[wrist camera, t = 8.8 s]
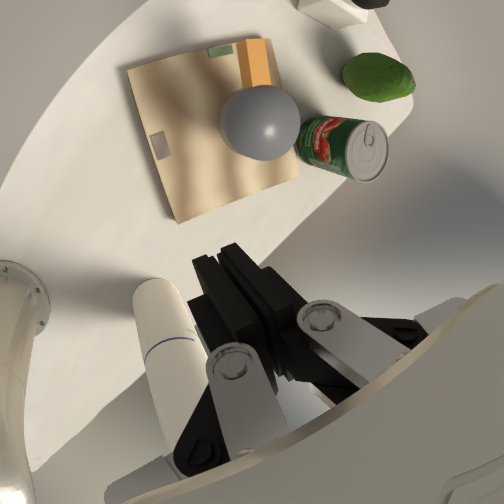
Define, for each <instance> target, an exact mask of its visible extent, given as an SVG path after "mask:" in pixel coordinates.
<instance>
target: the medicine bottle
mask: <svg viewBox="0 0 504 504" xmlns="http://www.w3.org/2000/svg"><path fill="white" fill-rule="evenodd" d="M389 1H390V0H299V3H298V6H297V10H299V11H301V12H303V13H305V14H307V15H308V16H310V17H312V18H314V19H316V20H318V21H320V22H321V23H323V24H325V25H327V26H329V27H330V28H332V29H338V28H342V27H347V26H352V25H357V24H363V23H366V19H367V14H368V10H369V9H374V8H380V7H385V6H386V5H388V3H389Z"/></svg>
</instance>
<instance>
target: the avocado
mask: <svg viewBox="0 0 504 504" xmlns="http://www.w3.org/2000/svg"><path fill="white" fill-rule="evenodd" d="M342 78H343V80H344V83H345V85H346V86H347V87H348V88H349V90H350V91H351V92H352V93H353V94H354V95H356V96H357V97H359V98H361V99H364V100H367V101H371V102H379V103H381V102H386V101H390V100H393V99H397V98H401V97H405V96H408V95H410V94H411V93H413V92H414V89H415V86H416V84H415V81H414V78H413V75H412V73H411V71H410V70H409V69H408V67H407V66H405V65H404V64H402V63H400V62H399V61H397V60H395V59H393V58H391V57H389V56H386V55H383V54H381V53H361V54H359V55H357V56H355V57H354V58H352V59H351V60H349V61H348V62H347V64H346V65H345V67H344V68H343V74H342Z"/></svg>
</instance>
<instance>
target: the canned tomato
mask: <svg viewBox="0 0 504 504" xmlns="http://www.w3.org/2000/svg"><path fill="white" fill-rule="evenodd" d="M295 148H296V152H297V154H298V156H299V157H300V159H301V160H302V161H303V162H304V163H306V164H308V165H311V166H315V167H318V168H321V169H324V170H327V171H330V172H333V173H336V174H339V175H342V176H345V177H348V178H350V179H354V180H356V181H358V182H361V183H370V182H372V181H374V180H376V179H377V178H378V177H379V176H380V175H381V174H382V173H383V171H384V169H385V167H386V165H387V162H388V159H389V152H390V149H389V148H390V146H389V140H388V136H387V134H386V132H385V130H384V129H383V127H382V126H381V125H380V124H378V123H376V122H374V121H365V120H358V119H350V118H341V117H332V116H321V115H312V116H310V117H308V118H306V119H304V120H303V121H302V122H301V124H300V130H299V134H298V137H297V139H296V141H295Z"/></svg>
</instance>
